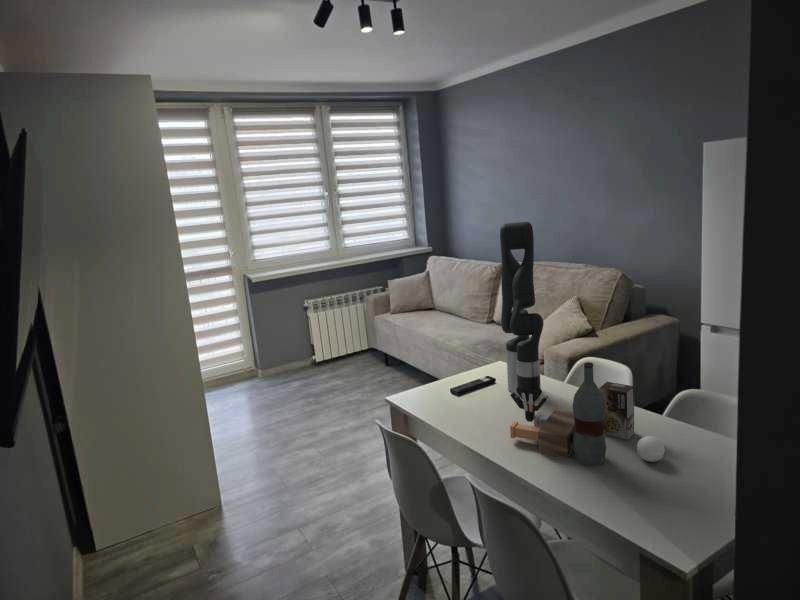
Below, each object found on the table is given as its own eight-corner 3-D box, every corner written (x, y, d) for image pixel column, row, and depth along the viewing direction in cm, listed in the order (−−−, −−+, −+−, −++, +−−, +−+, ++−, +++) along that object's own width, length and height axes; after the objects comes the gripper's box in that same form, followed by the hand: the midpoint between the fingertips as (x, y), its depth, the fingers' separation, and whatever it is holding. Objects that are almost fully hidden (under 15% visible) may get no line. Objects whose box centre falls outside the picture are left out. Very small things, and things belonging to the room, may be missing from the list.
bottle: (592, 470, 153) (590, 371, 147) (567, 458, 161) (564, 364, 155) (613, 459, 158) (612, 363, 152) (587, 448, 166) (586, 356, 160)
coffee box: (635, 432, 173) (635, 385, 170) (627, 440, 169) (627, 392, 165) (607, 426, 179) (606, 380, 176) (599, 433, 175) (598, 387, 172)
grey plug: (538, 423, 181) (537, 413, 180) (577, 430, 174) (577, 419, 173) (534, 428, 178) (533, 417, 177) (574, 435, 171) (574, 424, 170)
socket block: (555, 428, 181) (554, 409, 179) (582, 432, 176) (582, 413, 175) (538, 452, 166) (537, 431, 165) (567, 457, 161) (567, 436, 160)
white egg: (670, 464, 153) (670, 440, 152) (646, 468, 152) (646, 444, 151) (649, 448, 163) (649, 426, 161) (626, 452, 162) (626, 429, 160)
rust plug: (514, 432, 176) (514, 421, 176) (554, 439, 169) (554, 428, 169) (510, 437, 173) (510, 426, 172) (551, 445, 166) (550, 433, 165)
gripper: (551, 370, 176) (552, 419, 180) (513, 366, 183) (515, 413, 187) (544, 378, 170) (546, 428, 173) (505, 373, 177) (507, 422, 181)
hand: (530, 420), depth 180 cm, fingers closed
